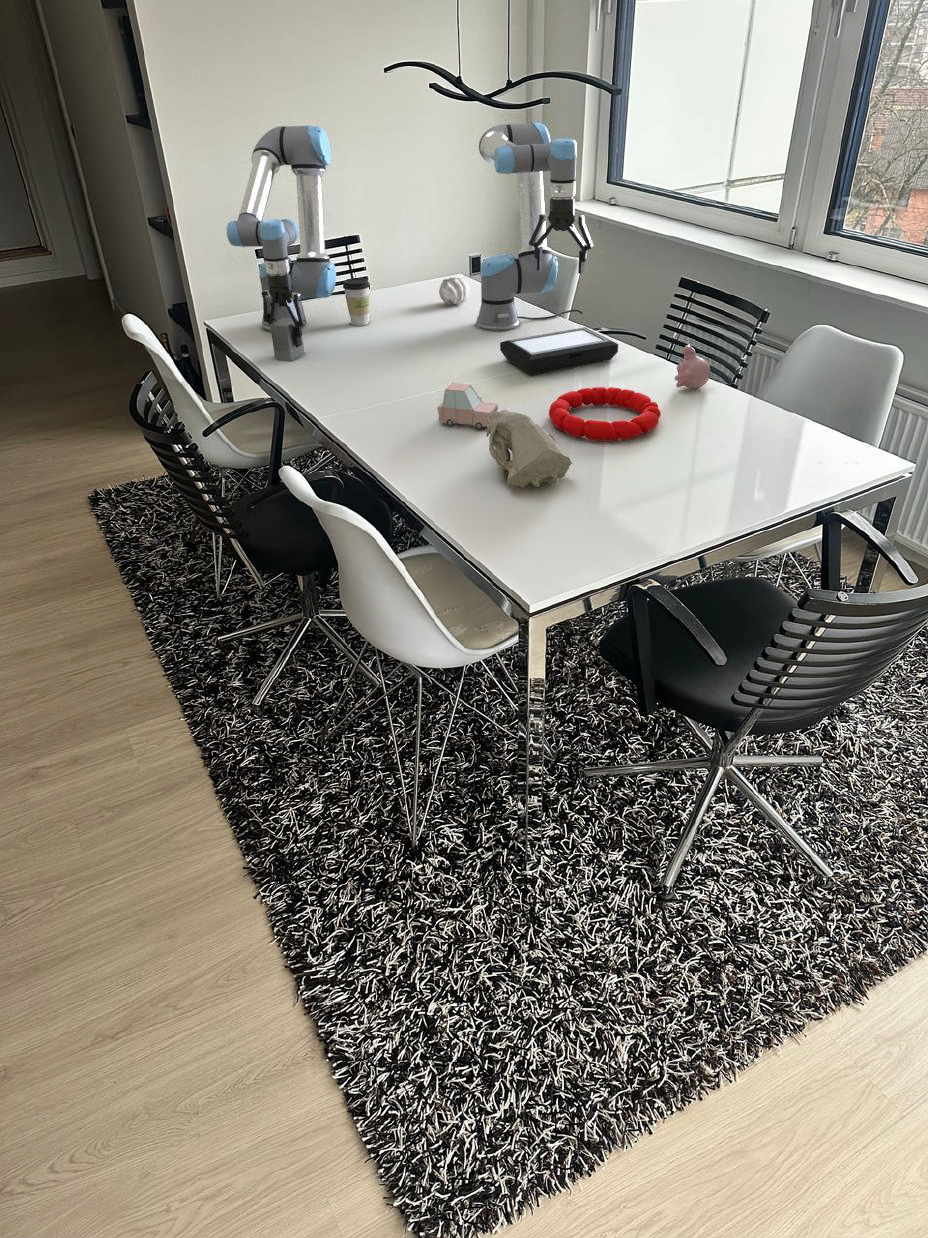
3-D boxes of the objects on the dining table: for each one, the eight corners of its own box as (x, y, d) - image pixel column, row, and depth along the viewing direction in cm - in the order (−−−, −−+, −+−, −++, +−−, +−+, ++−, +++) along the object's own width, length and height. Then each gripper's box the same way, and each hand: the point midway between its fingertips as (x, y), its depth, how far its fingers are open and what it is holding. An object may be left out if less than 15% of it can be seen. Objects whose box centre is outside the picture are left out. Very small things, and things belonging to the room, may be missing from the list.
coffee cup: (372, 326, 323) (368, 283, 314) (345, 327, 323) (340, 284, 315) (374, 318, 331) (371, 276, 322) (348, 319, 331) (344, 277, 323)
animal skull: (496, 517, 219) (521, 479, 201) (463, 429, 225) (484, 384, 207) (557, 503, 225) (586, 465, 206) (523, 417, 231) (549, 373, 212)
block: (275, 359, 296) (269, 324, 289) (288, 351, 302) (283, 317, 296) (291, 361, 294) (286, 326, 287) (304, 353, 300) (300, 319, 294)
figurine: (665, 387, 264) (669, 347, 257) (693, 380, 268) (698, 340, 261) (686, 396, 257) (690, 355, 250) (714, 388, 262) (720, 348, 255)
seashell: (432, 303, 345) (431, 277, 340) (465, 297, 351) (465, 271, 345) (444, 310, 338) (443, 282, 332) (478, 303, 343) (478, 276, 338)
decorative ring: (589, 435, 224) (684, 402, 234) (527, 398, 247) (617, 369, 256) (589, 461, 229) (683, 427, 238) (529, 422, 251) (617, 393, 260)
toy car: (488, 432, 240) (488, 396, 234) (436, 426, 244) (434, 390, 239) (499, 419, 247) (499, 384, 241) (448, 413, 252) (447, 379, 246)
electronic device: (528, 357, 271) (500, 339, 286) (528, 377, 274) (500, 358, 289) (618, 341, 281) (586, 325, 296) (617, 360, 284) (585, 343, 300)
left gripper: (244, 273, 283) (256, 345, 296) (299, 278, 277) (308, 351, 290) (257, 268, 289) (268, 338, 302) (312, 272, 282) (320, 344, 295)
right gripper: (519, 197, 270) (518, 270, 282) (598, 201, 261) (594, 276, 273) (527, 193, 275) (526, 265, 287) (605, 196, 267) (601, 270, 279)
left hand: (288, 344), depth 296 cm, fingers open, 8 cm apart
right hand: (560, 270), depth 280 cm, fingers open, 13 cm apart
